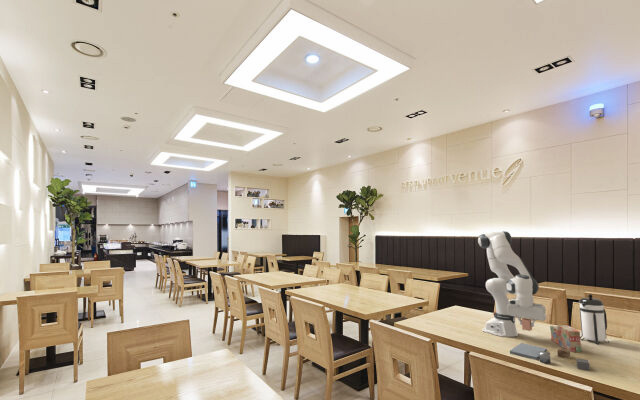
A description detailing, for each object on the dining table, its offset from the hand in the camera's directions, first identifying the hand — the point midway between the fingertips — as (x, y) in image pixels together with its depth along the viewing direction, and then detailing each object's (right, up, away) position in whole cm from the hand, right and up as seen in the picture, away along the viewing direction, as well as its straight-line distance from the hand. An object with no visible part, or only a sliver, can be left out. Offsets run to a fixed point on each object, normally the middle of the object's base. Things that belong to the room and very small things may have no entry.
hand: (526, 325), depth 200 cm
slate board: (0, -16, -1) cm, 16 cm away
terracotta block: (0, -2, 0) cm, 2 cm away
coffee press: (+55, -17, +17) cm, 60 cm away
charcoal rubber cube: (+14, -13, -25) cm, 32 cm away
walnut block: (+16, -15, -9) cm, 23 cm away
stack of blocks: (+30, -16, +9) cm, 35 cm away
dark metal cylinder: (0, -14, -16) cm, 22 cm away
